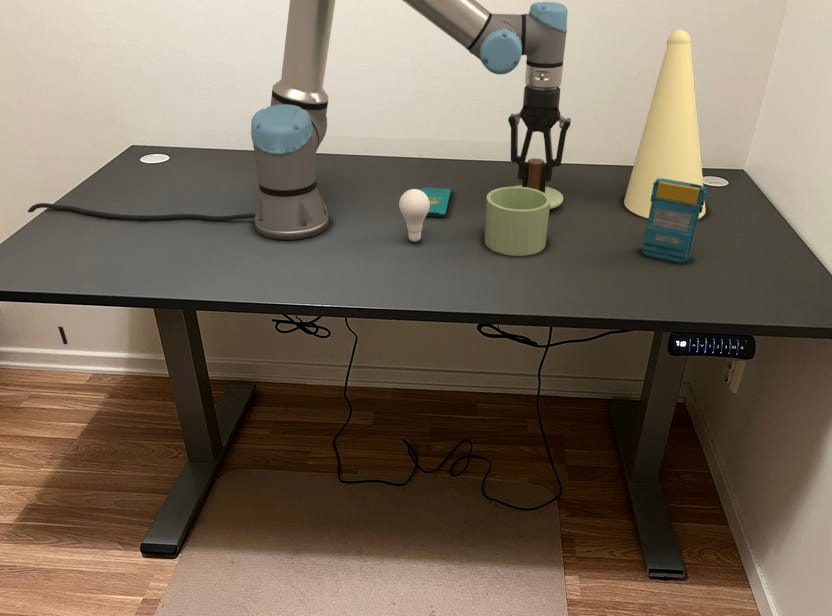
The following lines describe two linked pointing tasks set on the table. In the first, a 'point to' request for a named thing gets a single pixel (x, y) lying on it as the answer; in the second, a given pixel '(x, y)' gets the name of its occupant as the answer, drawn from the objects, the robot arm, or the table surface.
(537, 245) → the canister
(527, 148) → the robot arm
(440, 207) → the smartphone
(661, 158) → the cone light
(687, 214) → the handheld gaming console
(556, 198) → the canister lid
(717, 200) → the table surface
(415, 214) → the lightbulb
